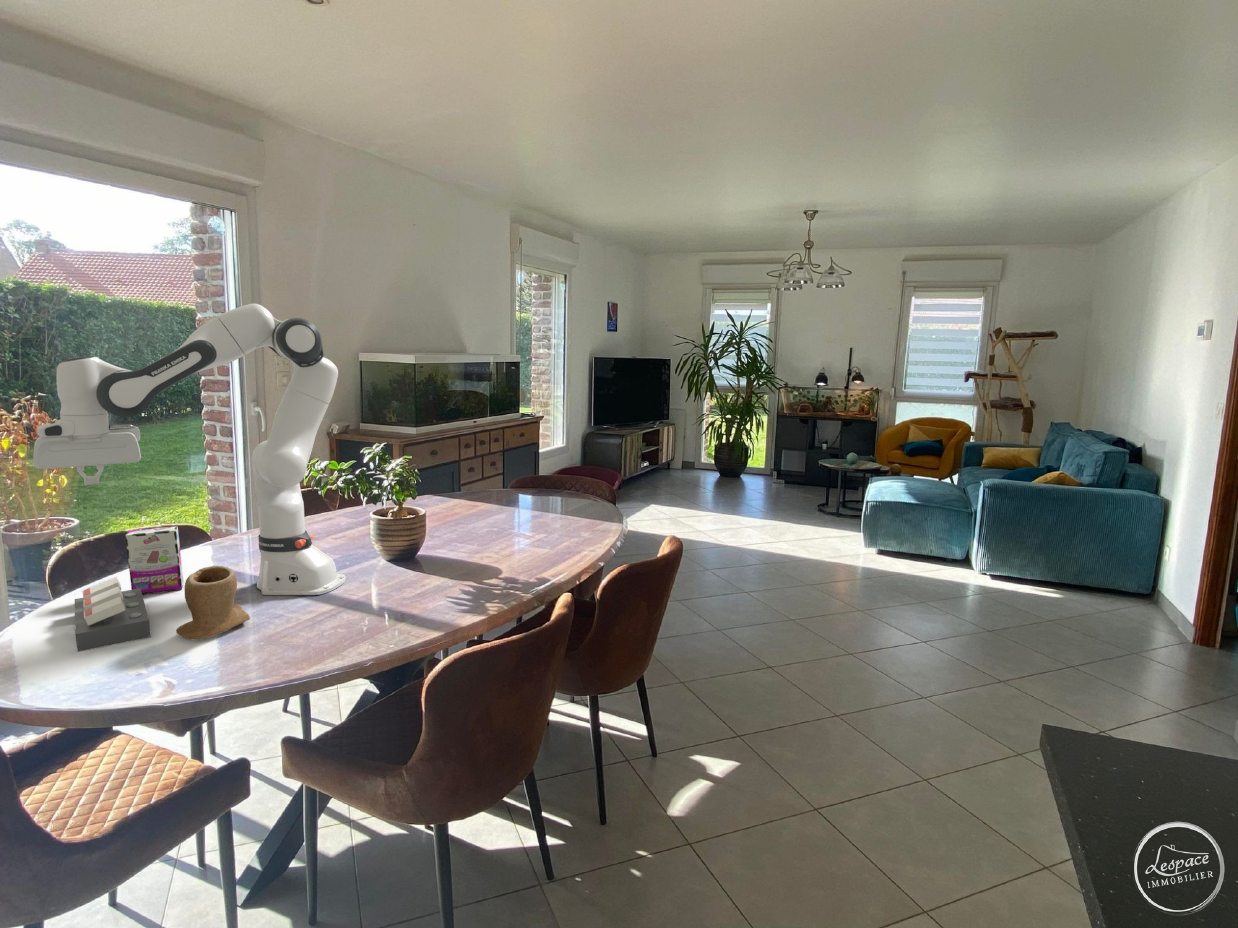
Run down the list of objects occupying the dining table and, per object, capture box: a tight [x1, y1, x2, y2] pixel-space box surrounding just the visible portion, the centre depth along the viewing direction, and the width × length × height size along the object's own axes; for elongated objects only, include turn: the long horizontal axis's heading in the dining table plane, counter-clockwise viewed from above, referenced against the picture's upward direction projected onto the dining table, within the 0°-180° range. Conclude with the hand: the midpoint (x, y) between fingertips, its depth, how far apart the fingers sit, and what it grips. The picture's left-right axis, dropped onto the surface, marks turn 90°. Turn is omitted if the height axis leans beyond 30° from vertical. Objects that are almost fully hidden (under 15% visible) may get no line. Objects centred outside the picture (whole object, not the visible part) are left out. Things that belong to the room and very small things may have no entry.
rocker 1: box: [82, 576, 122, 600], centre depth 164 cm, size 7×4×2 cm, turn 127°
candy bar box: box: [125, 525, 185, 596], centre depth 181 cm, size 11×5×16 cm, turn 117°
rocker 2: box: [83, 587, 123, 610], centre depth 158 cm, size 7×4×2 cm, turn 127°
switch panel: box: [74, 588, 152, 652], centre depth 160 cm, size 13×24×5 cm, turn 38°
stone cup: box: [175, 565, 251, 641], centre depth 158 cm, size 15×12×15 cm
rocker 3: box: [84, 597, 125, 626], centre depth 153 cm, size 7×4×2 cm, turn 127°
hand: (92, 483), depth 165 cm, fingers closed
